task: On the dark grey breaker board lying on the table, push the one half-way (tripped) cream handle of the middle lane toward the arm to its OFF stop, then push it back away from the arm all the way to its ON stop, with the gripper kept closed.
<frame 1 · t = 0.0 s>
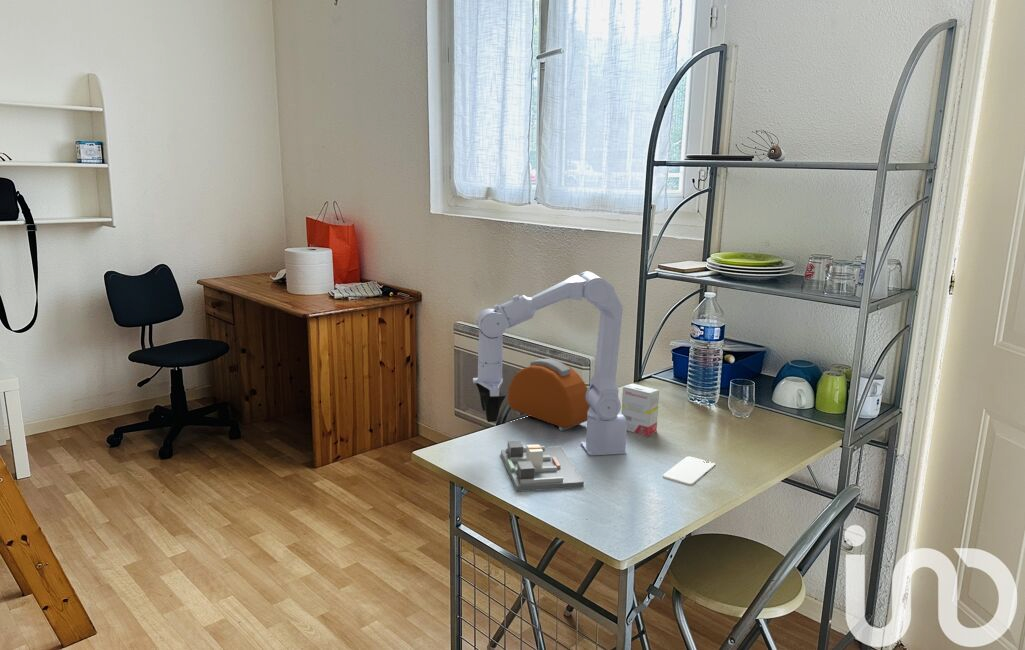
hand: (489, 415, 180), 10 cm above the table, fingers open, 7 cm apart
smartphone: (689, 472, 177), on the table
ink box: (638, 431, 201), on the table
breaker board: (542, 469, 175), on the table
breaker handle: (534, 455, 174), point 4 cm above the table, slide at 3.0 cm
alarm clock: (548, 420, 207), on the table
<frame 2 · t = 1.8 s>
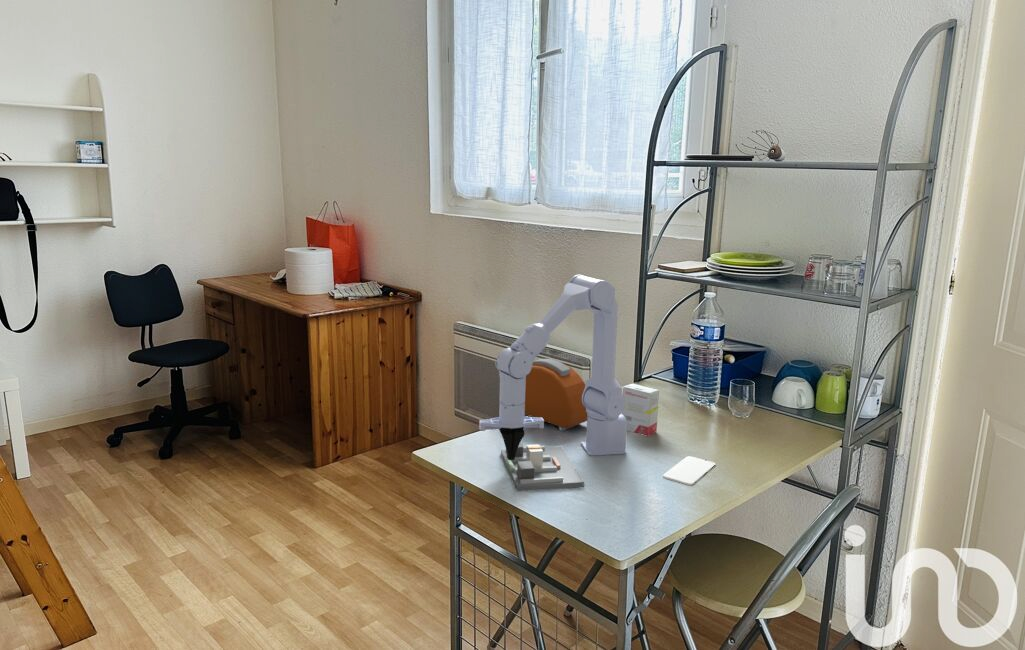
hand: (510, 458, 173), 3 cm above the table, fingers closed
nothing on the table moved.
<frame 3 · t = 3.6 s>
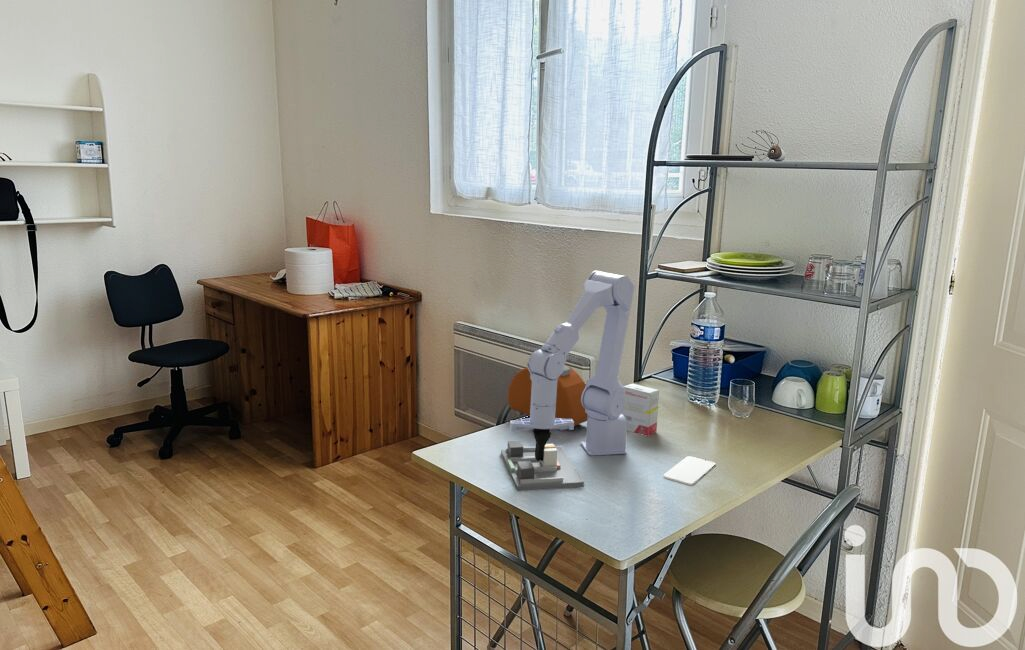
hand: (540, 459, 174), 3 cm above the table, fingers closed, pressing on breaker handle
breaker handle: (548, 455, 174), point 4 cm above the table, slide at -0.3 cm, touching breaker board, gripper
everything else where it was.
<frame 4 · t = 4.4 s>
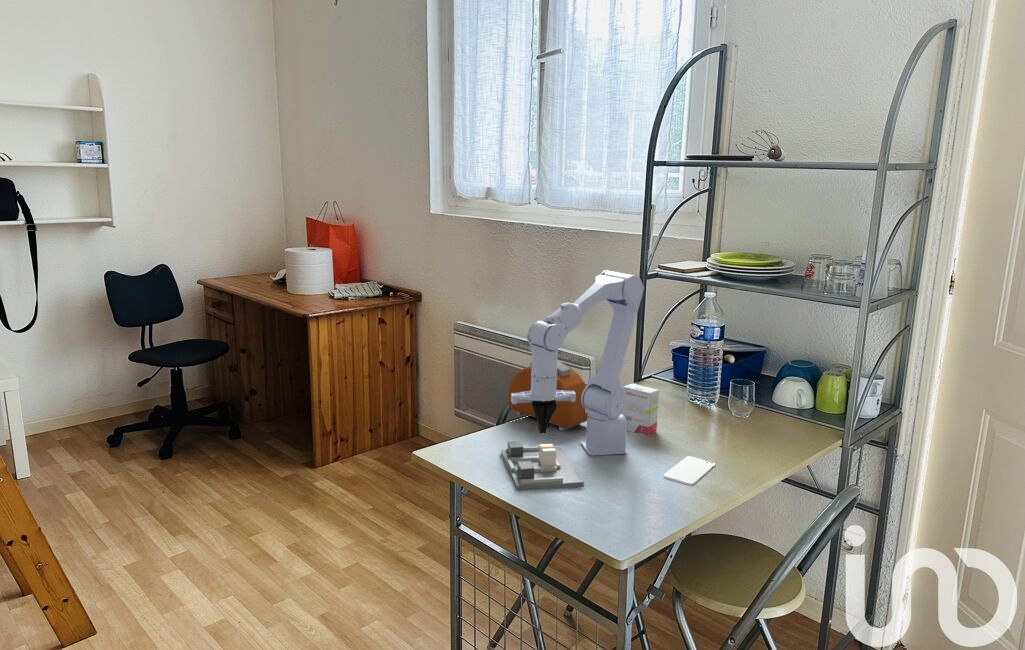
hand: (542, 431, 173), 9 cm above the table, fingers closed
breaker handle: (547, 455, 174), point 4 cm above the table, slide at 0.0 cm
everything else where it was.
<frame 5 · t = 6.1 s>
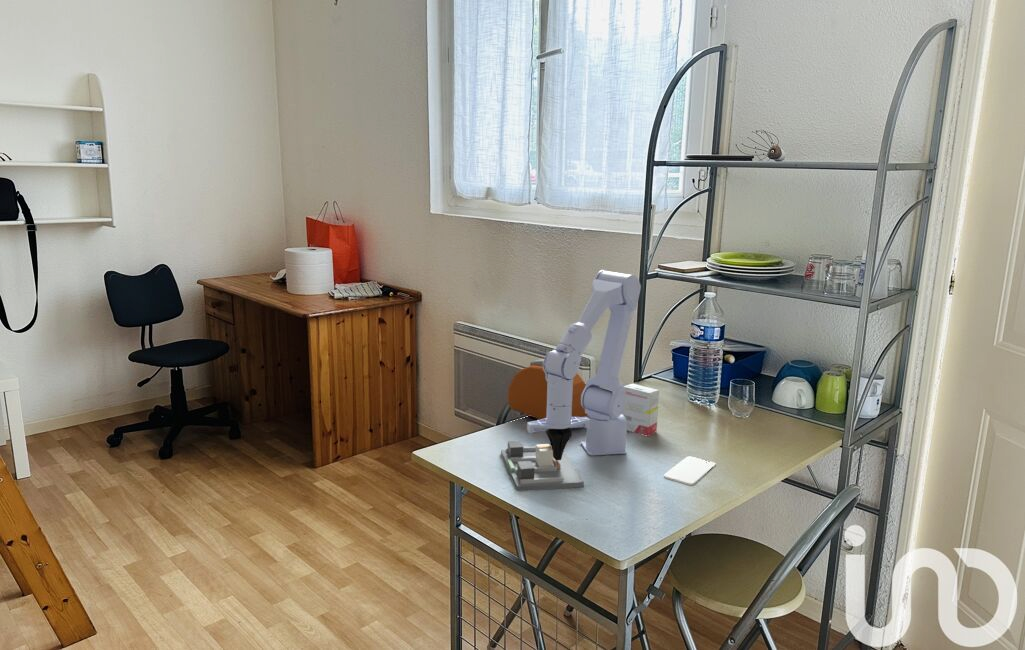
hand: (557, 458, 175), 3 cm above the table, fingers closed
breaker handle: (544, 455, 174), point 4 cm above the table, slide at 0.7 cm, touching gripper
everything else where it was.
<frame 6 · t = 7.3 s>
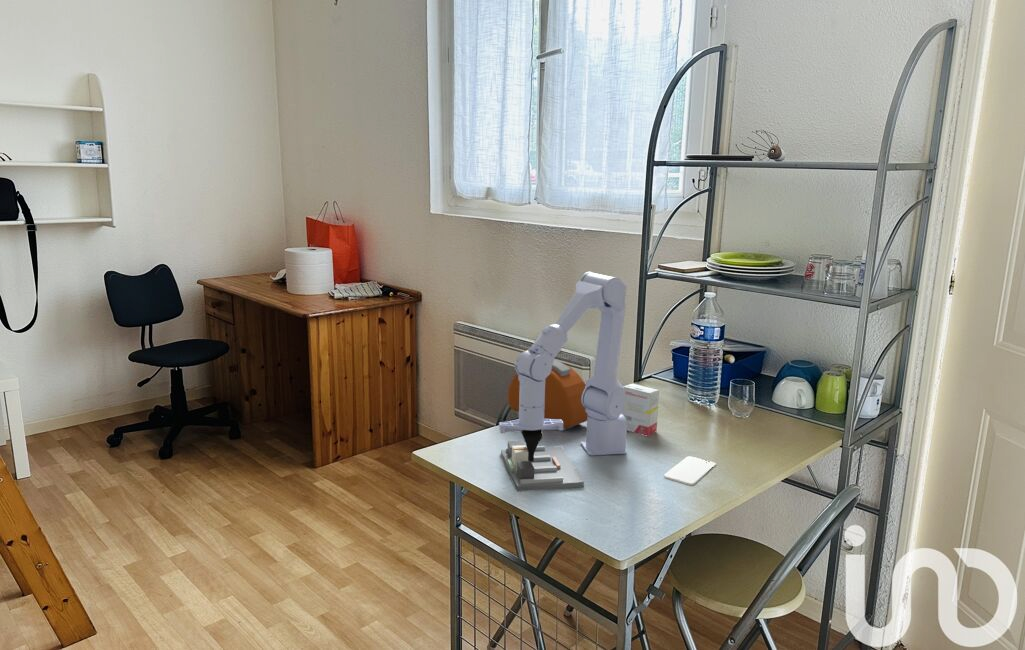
hand: (530, 460, 174), 3 cm above the table, fingers closed
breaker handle: (519, 456, 173), point 4 cm above the table, slide at 6.4 cm, touching gripper
everything else where it was.
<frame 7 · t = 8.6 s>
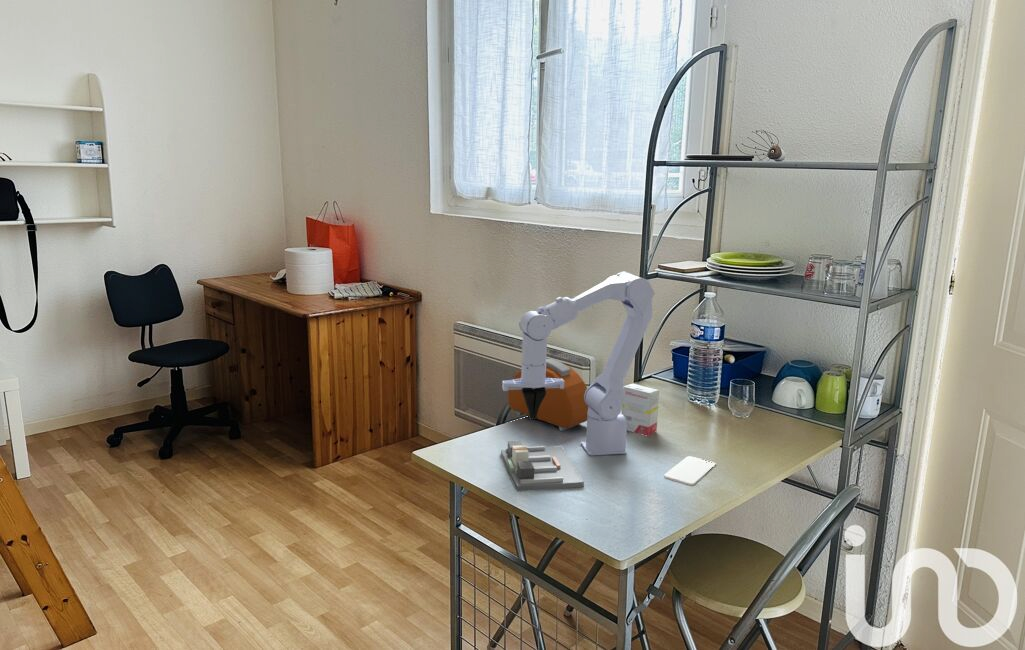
hand: (532, 417, 180), 10 cm above the table, fingers closed
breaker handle: (520, 456, 173), point 4 cm above the table, slide at 6.3 cm
everything else where it was.
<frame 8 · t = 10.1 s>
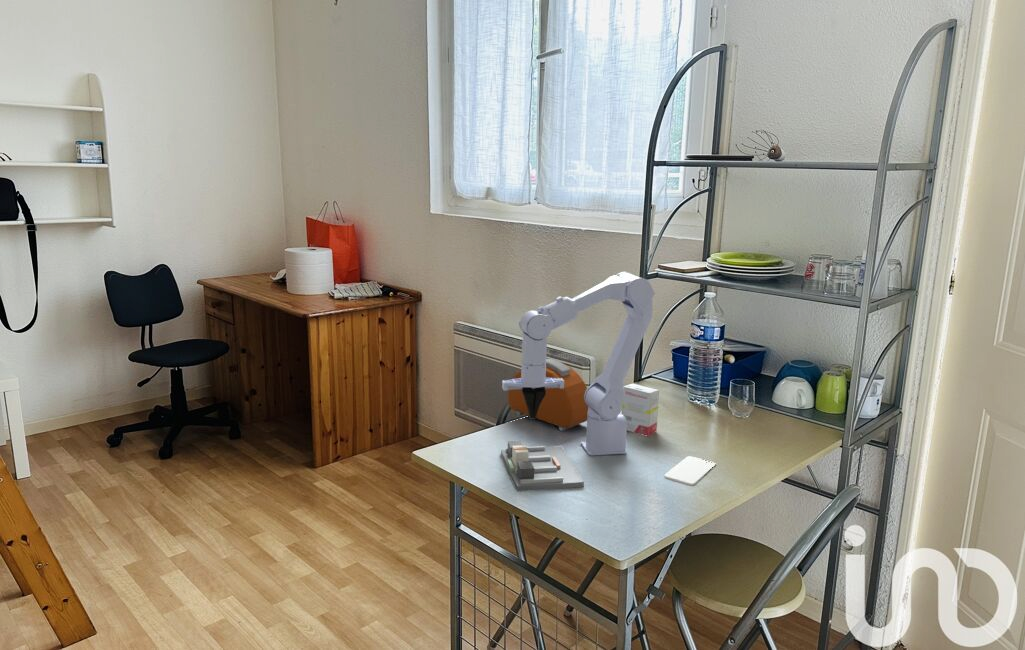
hand: (532, 417, 180), 10 cm above the table, fingers closed
nothing on the table moved.
at the end: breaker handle slide at 6.3 cm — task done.
